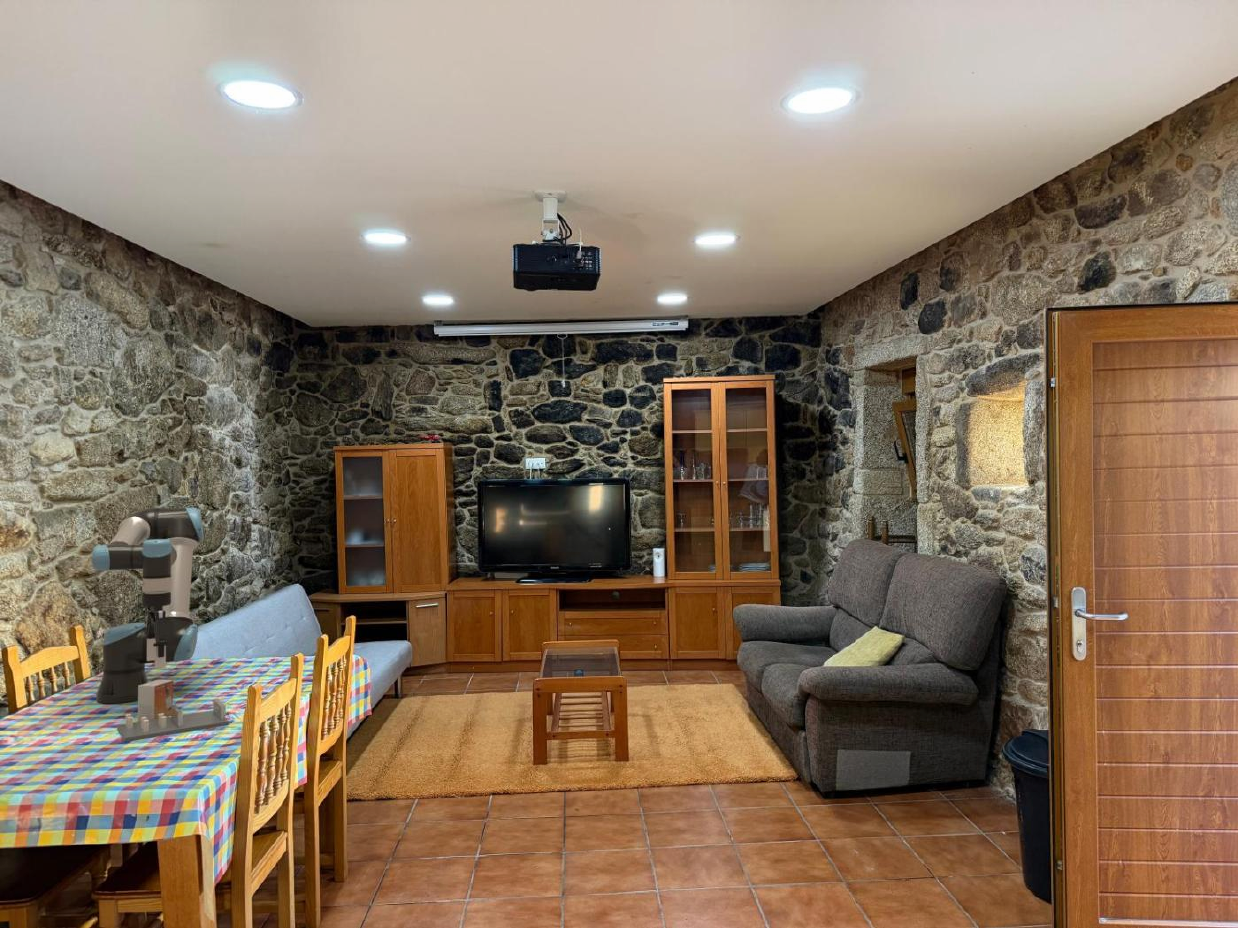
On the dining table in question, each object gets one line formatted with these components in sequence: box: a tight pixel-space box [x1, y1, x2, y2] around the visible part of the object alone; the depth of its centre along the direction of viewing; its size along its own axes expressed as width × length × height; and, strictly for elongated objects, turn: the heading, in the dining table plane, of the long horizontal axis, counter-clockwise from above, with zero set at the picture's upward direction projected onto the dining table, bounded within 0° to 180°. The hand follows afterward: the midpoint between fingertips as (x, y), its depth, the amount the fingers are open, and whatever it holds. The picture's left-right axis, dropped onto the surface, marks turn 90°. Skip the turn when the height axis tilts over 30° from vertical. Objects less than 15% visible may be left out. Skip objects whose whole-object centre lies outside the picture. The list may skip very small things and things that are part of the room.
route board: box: [116, 709, 229, 742], centre depth 245 cm, size 15×26×4 cm, turn 127°
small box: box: [137, 679, 174, 722], centre depth 253 cm, size 8×6×10 cm
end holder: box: [170, 698, 227, 727], centre depth 248 cm, size 10×12×4 cm
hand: (156, 664), depth 253 cm, fingers open, 13 cm apart
